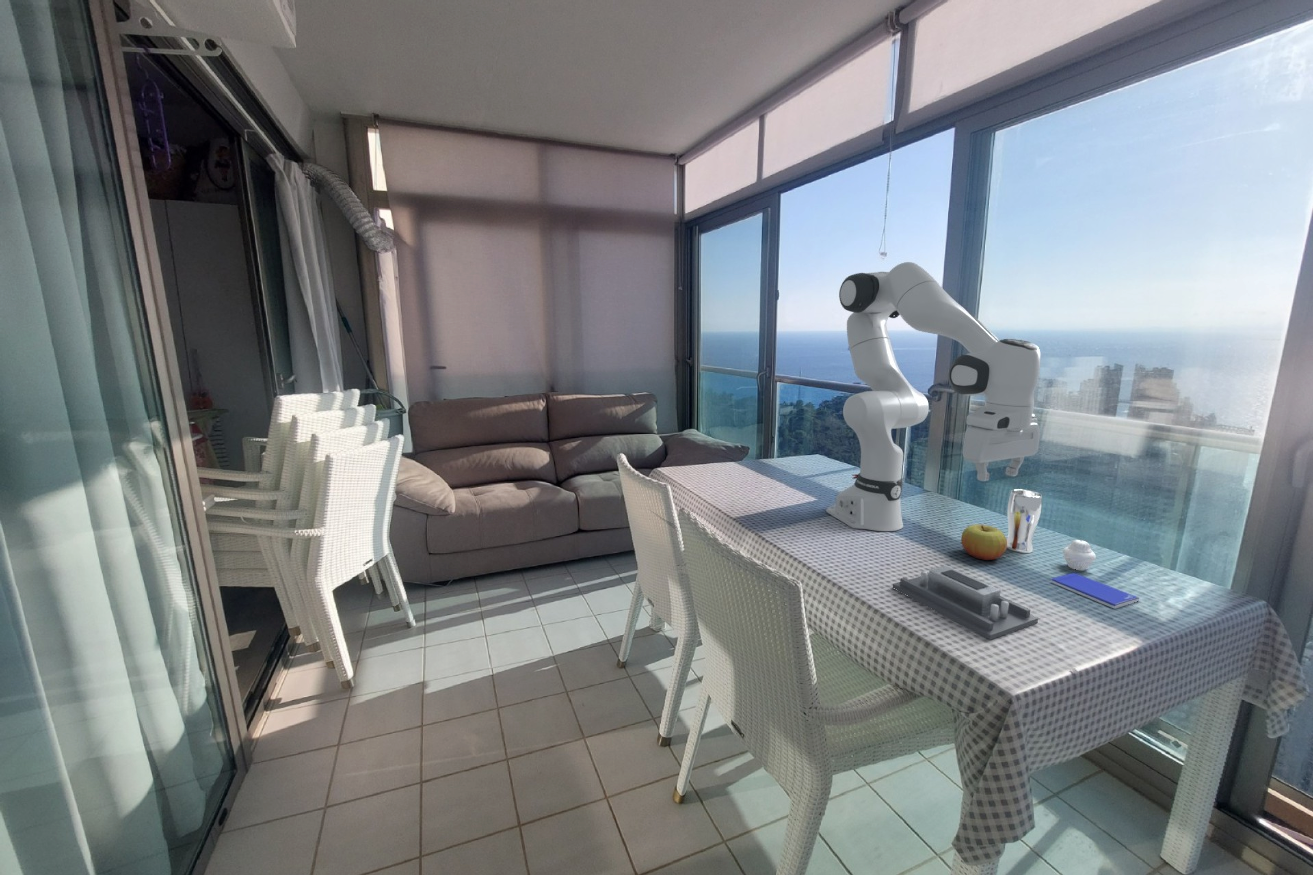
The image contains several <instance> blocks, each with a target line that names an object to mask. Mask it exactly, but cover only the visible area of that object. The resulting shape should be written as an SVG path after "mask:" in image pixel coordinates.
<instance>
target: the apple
mask: <svg viewBox="0 0 1313 875" xmlns="http://www.w3.org/2000/svg"><path fill="white" fill-rule="evenodd" d="M960 543H961V546H962V548H963V549H964V551H965V552H966V553H967V554H968V555H970V556H972V557H973V558H976V559H979V560H982V561H983V560H984V561H991V560H996V559H999V558H1000V557H1002V555H1003V554H1005V552H1006V550H1007V537H1006V536H1005V534H1004V533H1003V531H1001V529H998V528H996V527H994V526H991V525H986V524H972V525H969V526H967V527H965V529H964V530H963V531H962V534H961V540H960Z"/></svg>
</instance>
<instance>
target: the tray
mask: <svg viewBox="0 0 1313 875" xmlns="http://www.w3.org/2000/svg"><path fill="white" fill-rule="evenodd" d="M932 569H933V568H931V569H930V570H932ZM928 580H929V572H927V571H924V570H922V571H921V572H920V576H916V577H913V578H910V579H907V578H905V577H901V578H900V580H899V581H898V582H895V583H892V589H893V588H895V589H897V590H898V591H897V590H896V591H897V592H899V591H900V592H899V593H901V592H902V593H901V594H903V593H904V594H903V595H905V594H906V595H908V596H909V598H910V599H912V598H913V599H912V600H915V602H918V603H920V604H921V605H923V606H925V607H927V606H928V607H927V608H928V609H931V608H932V609H931V610H932V611H934V610H935V612H936V611H937V613H938V614H940V615H941V616H944V617H946V618H948V619H949V620H951V621H954V622H956V623H958V624H959V625H961V626H962V627H964V628H966V629H968V630H970V631H972V632H974V633H976V634H977V635H980V636H982V637H983V638H985V639H986V640H989V641H992V640H995V639H997V638H1000V637H1002V636H1005V635H1008V634H1011V633H1013V632H1017V631H1019V630H1022V629H1024V628H1027V627H1030V626H1033V625H1035V624H1038V623H1039V622H1038V620H1039V618H1038V617H1037V616H1034V615H1032V614H1031V609H1030V608H1027V607H1025V606H1023V605H1022V604H1019V603H1016V602H1014V601H1012V600H1010V599H1008V598H1005V597H1004V596H1001V595H1000V599H999V606H998V605H996V604H992V605H991V612H990V614H987V615H984V616H979V615H977V614H975V613H973V612H971V611H969V610H967V609H965V608H963V607H961V606H959V605H957V604H955V603H953V602H951V601H949V600H947V599H945V598H943V597H941V596H939V595H937V594H935V593H933V592H931V591H929V590H927V589H928ZM895 589H894V590H895ZM906 595H905V596H906ZM908 596H907V597H908Z"/></svg>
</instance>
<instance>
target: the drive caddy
mask: <svg viewBox="0 0 1313 875" xmlns="http://www.w3.org/2000/svg"><path fill="white" fill-rule="evenodd" d="M931 569H932V570H931ZM931 569H930V570H929V572H928V574H929V580H928V589H927V590H929V591H931V592H933V593H935V594H937V595H939V596H941V597H943V598H945V599H947V600H949V601H951V602H953V603H955V604H957V605H959V606H961V607H963V608H965V609H967V610H969V611H971V612H973V613H975V614H977V615H979V616H984V615H987V614H990V612H991V605H992V604H996V605H998V606H999V599H1000V596H1001V592H1002V591H1001V589H999V588H997V587H995V586H993V585H990V584H988V583H986V582H983V581H981V580H979V579H976V578H975V577H972V576H970V575H968V574H965V573H963V572H960V571H958V570H957V569H954V568H951V567H950V566H947V565H944V566H941V567H936V568H931Z"/></svg>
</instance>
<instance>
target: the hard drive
mask: <svg viewBox="0 0 1313 875" xmlns="http://www.w3.org/2000/svg"><path fill="white" fill-rule="evenodd" d="M1050 583H1051V584H1054V585H1055V586H1059V587H1061V588H1063V589H1066V590H1068V591H1070V592H1073V593H1075V594H1079V595H1081V596H1083V597H1085V598H1088V599H1090V600H1092V601H1095V602H1096V603H1097V602H1098V603H1100V604H1102V605H1105V606H1107V607H1108V608H1112V609H1114V610H1116V609H1119V608H1122V607H1126V606H1129V605H1131V604H1132V605H1133V604H1134V602H1135V603H1138V602H1139V601H1140V597H1138V596H1136V595H1133V594H1131V593H1127V592H1125V591H1123V590H1119V589H1117V588H1114V587H1112V586H1109V585H1106V584H1105V583H1102V582H1099V581H1097V580H1094V579H1091V578H1089V577H1086V576H1083V575H1080V574H1078V573H1077V572H1076V573H1075V572H1072V573H1069V574H1064V575H1061V576H1057V577H1053V578H1051V580H1050ZM1137 601H1138V602H1137ZM1128 604H1129V605H1128Z"/></svg>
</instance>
